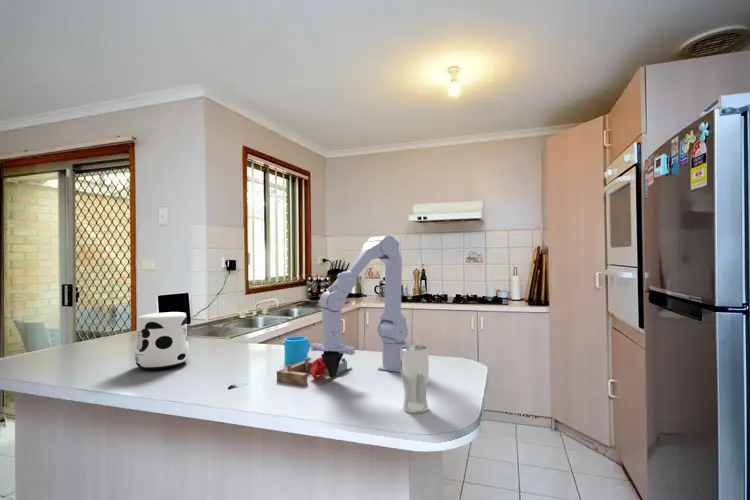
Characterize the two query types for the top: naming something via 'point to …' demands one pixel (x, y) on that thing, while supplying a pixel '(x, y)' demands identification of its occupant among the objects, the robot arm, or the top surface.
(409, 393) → the beer glass
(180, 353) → the milk container
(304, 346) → the mug
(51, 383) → the top surface
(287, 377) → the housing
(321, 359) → the cap
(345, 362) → the pale blue-grey box
